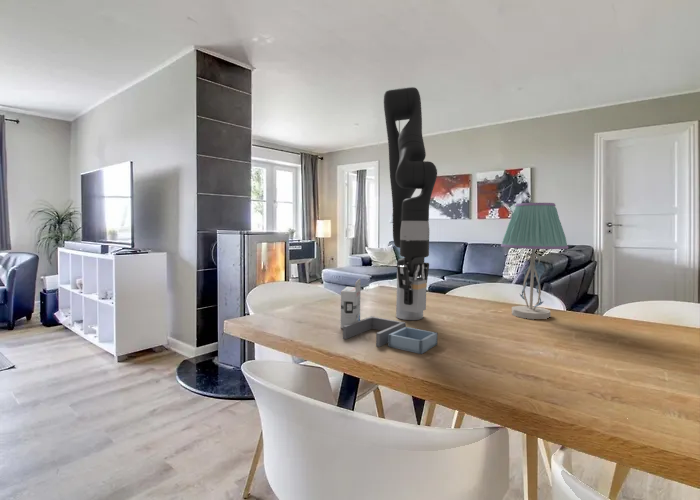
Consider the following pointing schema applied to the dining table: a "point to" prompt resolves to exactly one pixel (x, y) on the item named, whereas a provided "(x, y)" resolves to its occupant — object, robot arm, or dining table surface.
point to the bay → (373, 323)
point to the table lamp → (534, 246)
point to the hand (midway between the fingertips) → (413, 302)
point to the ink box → (350, 304)
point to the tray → (412, 340)
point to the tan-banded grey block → (415, 297)
